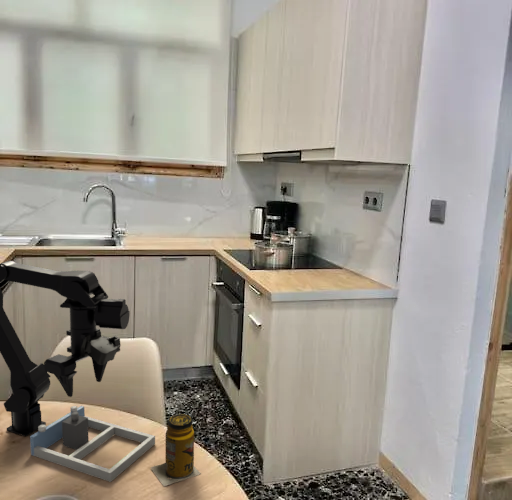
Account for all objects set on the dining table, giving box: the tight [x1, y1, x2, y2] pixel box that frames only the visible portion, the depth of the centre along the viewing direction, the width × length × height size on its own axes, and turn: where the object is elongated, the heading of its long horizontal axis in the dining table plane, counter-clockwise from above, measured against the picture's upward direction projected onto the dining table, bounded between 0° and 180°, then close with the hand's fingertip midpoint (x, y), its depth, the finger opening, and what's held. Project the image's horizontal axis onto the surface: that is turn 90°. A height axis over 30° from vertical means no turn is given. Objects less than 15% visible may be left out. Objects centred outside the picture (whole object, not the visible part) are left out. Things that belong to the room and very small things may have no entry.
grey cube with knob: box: [62, 412, 89, 451], centre depth 117 cm, size 4×4×8 cm
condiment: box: [150, 413, 201, 487], centre depth 108 cm, size 7×8×12 cm
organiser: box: [29, 405, 156, 483], centre depth 115 cm, size 22×16×6 cm
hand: (84, 388), depth 120 cm, fingers open, 9 cm apart
